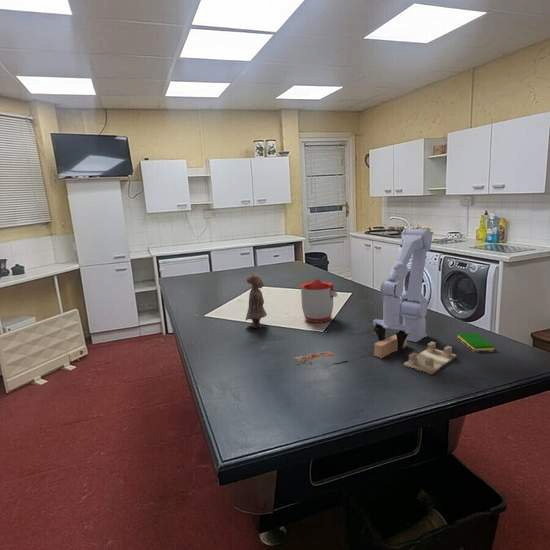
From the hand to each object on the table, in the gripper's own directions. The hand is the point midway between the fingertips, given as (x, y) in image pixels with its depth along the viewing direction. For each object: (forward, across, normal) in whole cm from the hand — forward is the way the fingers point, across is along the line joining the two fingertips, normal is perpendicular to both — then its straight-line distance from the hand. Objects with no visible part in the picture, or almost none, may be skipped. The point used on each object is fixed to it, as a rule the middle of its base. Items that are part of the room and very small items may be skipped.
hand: (390, 346), depth 146 cm
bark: (+2, -15, -25) cm, 29 cm away
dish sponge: (+2, +20, +26) cm, 33 cm away
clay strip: (+2, 0, 0) cm, 2 cm away
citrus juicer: (+2, -45, +10) cm, 46 cm away
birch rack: (+2, +15, +1) cm, 15 cm away
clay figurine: (+2, -61, -16) cm, 63 cm away
